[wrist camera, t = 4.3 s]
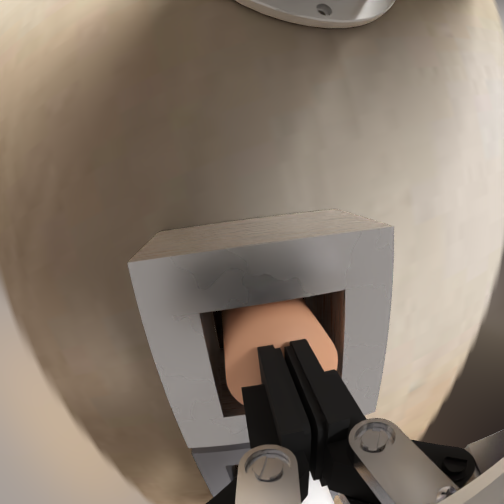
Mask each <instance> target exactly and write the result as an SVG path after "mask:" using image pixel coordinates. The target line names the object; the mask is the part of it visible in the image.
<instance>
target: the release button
mask: <svg viewBox="0 0 504 504" xmlns="http://www.w3.org/2000/svg"><path fill="white" fill-rule="evenodd" d="M222 325H223V341H224V356H225V370H226V381H227V385H228V388H229V390H230V392H231V394H232V395H233V396H234V398H235V399H236V400H237V401H238V402H240V403H241V404H242V405H244V403H243V396H242V390H241V387H247V386H253V385H260V384H262V382H261V375H260V367H259V359H258V351H257V347H262V346H268V345H274V348H280V349H281V351H282V354H283V356H284V359H285V353H284V347H286V346H290V345H289V343H290V341H295V340H301V339H306V340H307V341H308V343H309V345H310V347H311V348H312V350H313V352H314V354H315V356H316V357H317V359H318V361H319V363H320V365H321V366H322V368H323V370H324V372H325V371H329V370H333V369H335V370H337V366H338V355H337V350H336V348H335V345H334V344H333V342H332V340H331V339H330V338H329V336H328V335H327V333H326V332H325V330H324V329H323V327H322V326H321V325H320V323H319V322H318V320H317V319H316V317H315V316H314V315H313V313H312V312H311V310H310V309H309V307H308V306H307V305H306V303H305V302H304V300H303V299H302V298H297V299H291V300H285V301H279V302H273V303H267V304H260V305H254V306H247V307H240V308H233V309H226V310H222Z"/></svg>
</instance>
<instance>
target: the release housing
mask: <svg viewBox="0 0 504 504" xmlns="http://www.w3.org/2000/svg"><path fill="white" fill-rule="evenodd" d="M393 262H394V226H391V225H388V224H384V223H381V222H378V221H375V220H372V219H368V218H365V217H362V216H359V215H355V214H352V213H348V212H345V211H342V210H338V209H329V210H319V211H310V212H301V213H292V214H284V215H275V216H267V217H259V218H251V219H243V220H236V221H228V222H221V223H213V224H206V225H199V226H192V227H185V228H179V229H172V230H165V231H159V232H158V233H157V234H156V235H155V236H154V237H153V238H152V239H151V240H150V241H149V242H148V243H147V244H146V245H145V246H143V247H142V248H141V249H140V250H139V251H138V252H137V253H136V254H135V255H134V256H133V257H132V258H131V259H130V260H129V261H128V262H127V263H128V268H129V272H130V277H131V281H132V285H133V289H134V293H135V297H136V301H137V305H138V309H139V312H140V316H141V319H142V323H143V326H144V330H145V333H146V337H147V340H148V343H149V346H150V349H151V353H152V356H153V359H154V362H155V365H156V368H157V371H158V374H159V376H160V379H161V382H162V385H163V388H164V390H165V393H166V396H167V398H168V401H169V403H170V406H171V409H172V411H173V414H174V416H175V418H176V421H177V423H178V426H179V428H180V430H181V433H182V435H183V437H184V440H185V442H186V444H187V446H188V448H198V447H212V446H222V445H232V444H240V443H248V442H249V436H248V429H247V423H246V416H245V410H244V405H242V404H241V403H240V402H238V401H237V400H236V399H235V398H234V396H233V395H232V394H231V392H230V390H229V388H228V385H227V381H226V370H225V356H224V348H221V349H220V347H219V342H218V337H217V332H216V327H215V321H214V316H213V311H219V310H226V309H233V308H240V307H247V306H254V305H260V304H267V303H273V302H279V301H285V300H291V299H297V298H303V297H305V303H306V305H307V306H308V307H309V309H310V310H311V312H312V313H313V315H314V316H315V317H316V319H317V320H318V322H319V323H320V325H321V326H322V327H323V329H324V330H325V332H326V333H327V335H328V336H329V338H330V339H331V340H332V342H333V344H334V345H335V348H336V350H337V355H338V366H337V370H336V371H337V372H338V374H339V375H340V377H341V379H342V380H343V382H344V383H345V385H346V387H347V388H348V390H349V392H350V393H351V395H352V396H353V398H354V400H355V401H356V403H357V405H358V406H359V408H360V409H361V411H362V413H363V414H364V415H367V414H370V413H373V412H375V409H376V405H377V400H378V395H379V390H380V384H381V379H382V373H383V367H384V360H385V354H386V346H387V339H388V330H389V321H390V311H391V299H392V284H393Z"/></svg>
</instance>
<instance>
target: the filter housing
mask: <svg viewBox="0 0 504 504" xmlns="http://www.w3.org/2000/svg"><path fill="white" fill-rule="evenodd" d="M250 449H251V448H250V442H248V443H240V444H232V445H222V446H212V447H198V448H192V456H193V458H194V460H195V462H196V464H197V466H198V468H199V470H200V472H201V474H202V476H203V478H204V480H205V482H206V484H207V486H208V488H209V490H210V492H211V494H212V496H213V497H214V496H216V495H217V494H218V493H219V492H220V491H221V490H223V489H224V488H225V487H226V486H227V485H228V484H229V483H230V482H231V481H233V480H234V479H235V478H236V477H237V475H238V470H236V467H235V465H238V464H239V462H240V459H241V458H242V457H243V455H244V454H245V453H246V452H248V451H249V450H250ZM328 489H329V488H328ZM329 492H330V494H331V497H332V496H336V495H338V493H337V492H334V491H332V490H329Z"/></svg>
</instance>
